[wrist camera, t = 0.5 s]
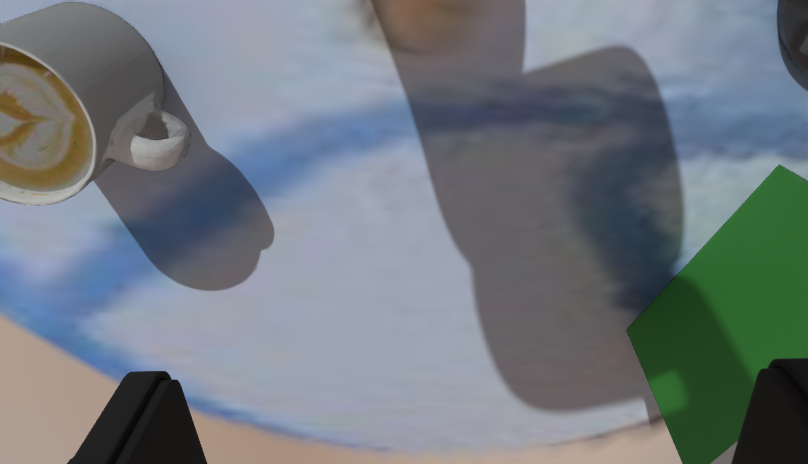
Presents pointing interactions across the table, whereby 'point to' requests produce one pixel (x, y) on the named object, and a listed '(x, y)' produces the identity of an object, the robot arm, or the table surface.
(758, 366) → the hardback book
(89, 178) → the coffee mug
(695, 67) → the table surface
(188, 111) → the table surface
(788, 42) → the saucer
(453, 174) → the table surface
